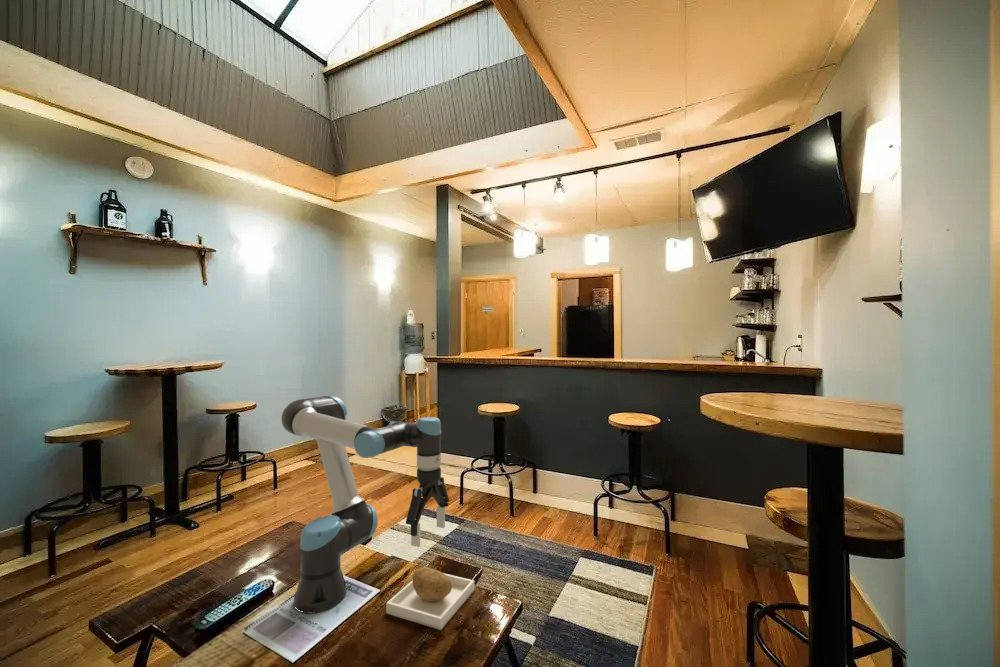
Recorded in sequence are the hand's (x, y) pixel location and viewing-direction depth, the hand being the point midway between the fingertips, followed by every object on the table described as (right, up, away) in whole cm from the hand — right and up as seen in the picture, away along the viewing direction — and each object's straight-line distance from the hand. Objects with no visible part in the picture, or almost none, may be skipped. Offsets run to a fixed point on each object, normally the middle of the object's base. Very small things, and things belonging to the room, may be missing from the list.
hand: (428, 535), depth 123 cm
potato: (+1, -19, -1) cm, 19 cm away
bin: (+1, -19, -2) cm, 19 cm away
